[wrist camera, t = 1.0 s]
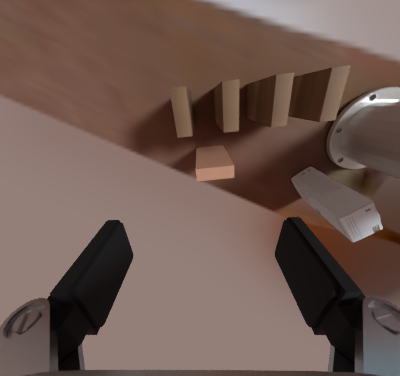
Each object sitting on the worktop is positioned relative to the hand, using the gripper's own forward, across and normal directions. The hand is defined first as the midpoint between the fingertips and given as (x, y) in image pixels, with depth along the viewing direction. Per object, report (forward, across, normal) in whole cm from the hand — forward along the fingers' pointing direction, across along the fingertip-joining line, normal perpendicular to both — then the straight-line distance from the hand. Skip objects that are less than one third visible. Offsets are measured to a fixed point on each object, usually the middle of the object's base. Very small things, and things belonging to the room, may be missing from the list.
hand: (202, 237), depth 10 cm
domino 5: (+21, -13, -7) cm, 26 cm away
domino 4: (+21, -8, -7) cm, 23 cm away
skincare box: (+22, -20, +8) cm, 31 cm away
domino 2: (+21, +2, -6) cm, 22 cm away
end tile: (+21, -1, +1) cm, 21 cm away
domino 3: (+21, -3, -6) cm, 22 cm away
